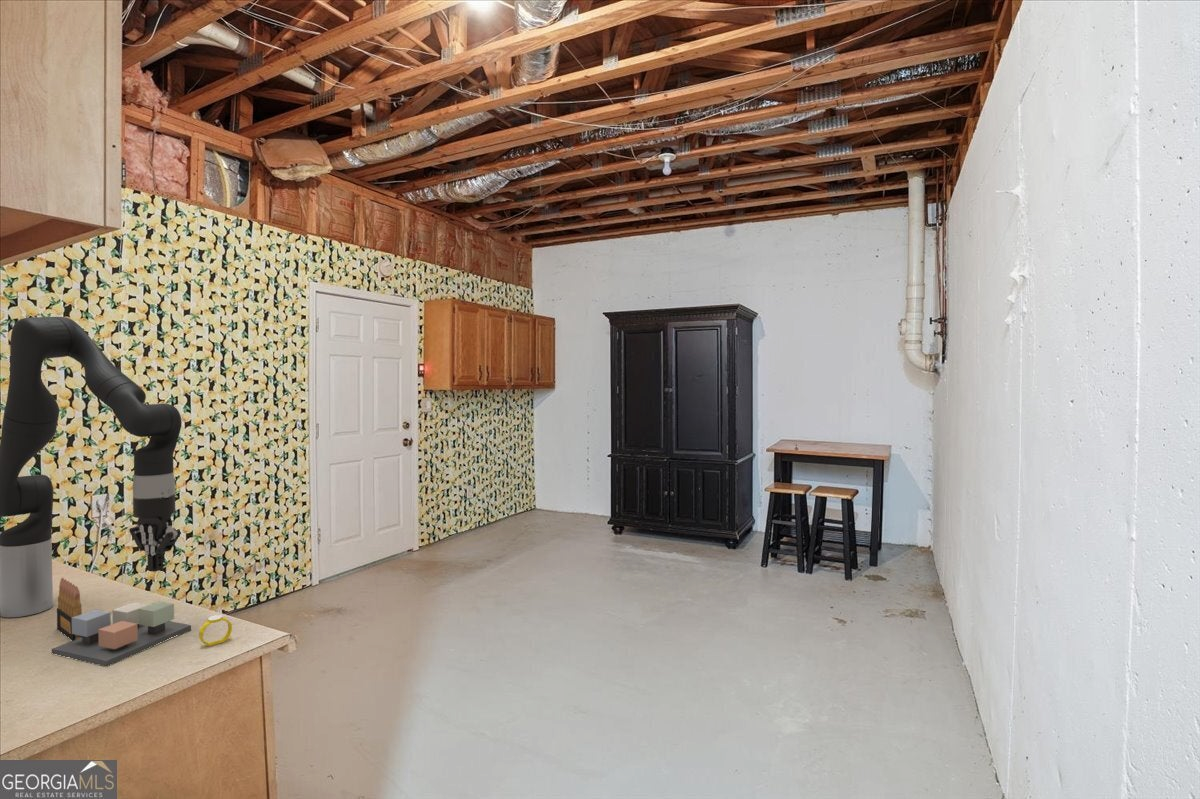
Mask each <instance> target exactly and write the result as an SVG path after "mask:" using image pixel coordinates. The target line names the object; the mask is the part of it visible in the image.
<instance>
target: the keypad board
mask: <svg viewBox="0 0 1200 799" xmlns="http://www.w3.org/2000/svg"><path fill="white" fill-rule="evenodd" d="M137 631H138V640H136V641H134V642H131V643H129V644H126V645H124V646H121V647H119V648H117V649H111V648H106V647H101V646H99V633H96V634H94V635H91V636H88V637H85V636H82V638H79V639H76V640H74V641H71V640H70V641H68V642H66V643H63V644H61V645H57V646H55V647H53V648H51V654H52V653H53V654H57V655H61V656H60V657H62V656H65V657H64V658H66V657H70V658H73V659H72V660H75V659H77V660H76V661H79V660H81V661H80V662H83V661H86V662H85V663H88V662H90V663H89V664H92V663H94V664H93V665H96V664H100V665H99V666H101V665H103V666H102V667H105V666H107V667H109V666H111V665H110V664H112V665H113V663H114V664H116V663H118V661H119V662H121V661H123V660H125V659H124V658H126V659H127V657H128V658H130V657H132V656H131V655H133V656H134V654H135V655H137V654H139V653H138V652H140V651H142V650H144V649H146V650H148V649H147V648H149V647H151V646H153V647H155V646H154V645H156V644H158V643H160V642H163V641H165V640H167V639H169V638H171V637H174V636H176V635H179V634H181V635H183V634H182V633H184V632H186V633H188V632H191V631H192V625H191V624H186V623H183V622H176V621H172V620H170V621H168V622H165V623H163V624H160V625H158V626H155V627H151V626H146V625H140V624H137ZM187 631H188V632H187ZM184 634H185V633H184ZM179 636H180V635H179ZM174 638H175V637H174ZM167 641H168V640H167ZM165 642H166V641H165ZM163 643H164V642H163ZM160 644H161V643H160ZM158 645H159V644H158ZM156 646H157V645H156ZM151 648H152V647H151ZM149 649H150V648H149ZM144 651H145V650H144ZM142 652H143V651H142ZM136 653H137V654H136ZM140 653H141V652H140ZM53 654H52V655H53ZM57 655H56V656H57ZM129 656H130V657H129ZM70 658H69V659H70ZM122 659H123V660H122ZM120 660H121V661H120ZM108 665H109V666H108Z"/></svg>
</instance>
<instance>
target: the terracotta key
mask: <svg viewBox="0 0 1200 799" xmlns="http://www.w3.org/2000/svg"><path fill="white" fill-rule="evenodd" d="M98 633H99V646H101V647H106V648H111V649H117V648H119V647H121V646H124V645H126V644H129V643H131V642H134V641H136V640H138V631H137V624H136V623H131V622H125V621H120V622H117V623H115V624H113V623H111V625H109V626H107V627H104V628H101V629H98Z"/></svg>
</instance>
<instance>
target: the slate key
mask: <svg viewBox="0 0 1200 799" xmlns="http://www.w3.org/2000/svg"><path fill="white" fill-rule="evenodd" d="M111 612H112V611H104V610H99V609H93V610H90V611H87V612H85V613H82V614H81V615H78V616H75V617H72V634H75V635H80V636H85V637H88V636H91V635H94V634H96V633H98V629H101V628H104V627H107V626H109V625H112V621H111V618H112V617H111V616H112V615H111Z"/></svg>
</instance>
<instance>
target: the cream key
mask: <svg viewBox="0 0 1200 799" xmlns="http://www.w3.org/2000/svg"><path fill="white" fill-rule="evenodd" d="M147 605H148V604H144V603H138V602H131V603H129V604H125V605H123V606H120V607H117V608H114V609H112V611H111V612H112V615H111V616H112V617H111V618H112V624H115V623H117V622H120V621H125V622H131V623H136V624H138V608H141V607H144V606H147Z"/></svg>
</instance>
